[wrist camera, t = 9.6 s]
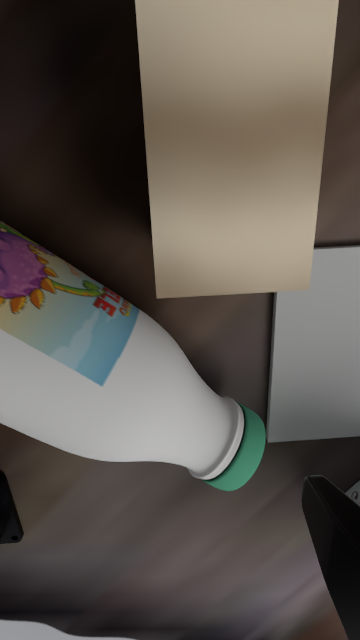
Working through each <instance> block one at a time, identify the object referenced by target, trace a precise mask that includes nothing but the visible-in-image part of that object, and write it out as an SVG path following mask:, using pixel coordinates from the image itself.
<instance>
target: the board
mask: <svg viewBox="0 0 360 640" xmlns="http://www.w3.org/2000/svg"><path fill="white" fill-rule="evenodd" d="M338 2H339V0H135V6H136V20H137V33H138V47H139V61H140V75H141V88H142V102H143V116H144V130H145V143H146V157H147V171H148V185H149V199H150V212H151V226H152V240H153V254H154V267H155V281H156V295H157V298H173V297H191V296H209V295H227V294H246V293H264V292H282V291H300V290H309V287H310V278H311V268H312V258H313V248H314V238H315V228H316V219H317V209H318V199H319V189H320V179H321V169H322V159H323V150H324V140H325V130H326V120H327V110H328V100H329V91H330V81H331V71H332V61H333V51H334V41H335V31H336V22H337V12H338Z"/></svg>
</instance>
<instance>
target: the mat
mask: <svg viewBox="0 0 360 640" xmlns="http://www.w3.org/2000/svg"><path fill="white" fill-rule="evenodd" d="M356 436H360V245H355V246H337V247H320V248H313V258H312V268H311V278H310V287H309V290H300V291H282V292H274V305H273V323H272V340H271V358H270V376H269V393H268V411H267V428H266V439H267V441H268V443H270V442H284V441H299V440H313V439H327V438H341V437H356Z"/></svg>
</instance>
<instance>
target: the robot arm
mask: <svg viewBox="0 0 360 640" xmlns="http://www.w3.org/2000/svg"><path fill="white" fill-rule="evenodd" d="M302 508H303V512H304V515H305V518H306V522H307V525H308V528H309V531H310V535H311V538H312V541H313V544H314V548H315V551H316V554H317V558H318V561H319V564H320V567H321V570H322V574H323V577H324V580H325V582H326V585H327V588H328V590H329V593H330V595H331V598H332V600H333V603H334V605H335V608H336V610H337V612H338V615H339V617H340V620H341V622H342V625H343V627H344V629H345V632H346V634H347V637H348V639H349V640H360V506H359V505H358V504H357V503H355V502H354V501H353V500H352V499H351V498H349V497H348V496H347V495H346V494H345V493H344V492H342V491H341V490H340V489H339V488H338V487H336V486H335V485H334V484H333V483H332V482H331V481H329V480H328V479H327V478H326V477H324V476H322V475H309V476H306V477H305V479H304V485H303V493H302ZM23 535H24V532H23V529H22V526H21V523H20V520H19V516H18V513H17V510H16V507H15V504H14V501H13V497H12V494H11V491H10V488H9V485H8V482H7V478H6V476H5V475H4V474H2V473H0V544H5V543H17V542H20V541H21V539H22V537H23Z"/></svg>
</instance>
